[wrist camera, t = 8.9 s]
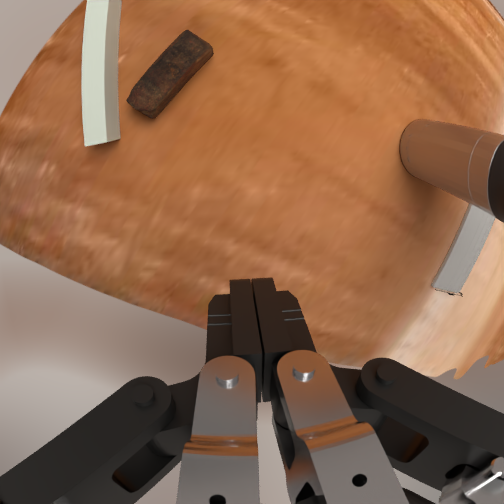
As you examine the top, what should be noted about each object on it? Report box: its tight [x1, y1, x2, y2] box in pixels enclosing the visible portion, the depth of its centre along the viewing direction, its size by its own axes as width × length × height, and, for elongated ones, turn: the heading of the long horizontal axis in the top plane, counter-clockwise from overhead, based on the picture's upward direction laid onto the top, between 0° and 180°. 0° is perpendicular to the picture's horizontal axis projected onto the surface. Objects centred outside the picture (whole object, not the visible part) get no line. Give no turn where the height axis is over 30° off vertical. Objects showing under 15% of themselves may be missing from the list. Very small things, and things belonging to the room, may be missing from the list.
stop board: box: [82, 0, 122, 146], centre depth 24 cm, size 3×20×4 cm, turn 0°
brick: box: [127, 30, 214, 118], centre depth 26 cm, size 11×4×5 cm, turn 137°
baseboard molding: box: [431, 203, 495, 297], centre depth 41 cm, size 31×3×12 cm
